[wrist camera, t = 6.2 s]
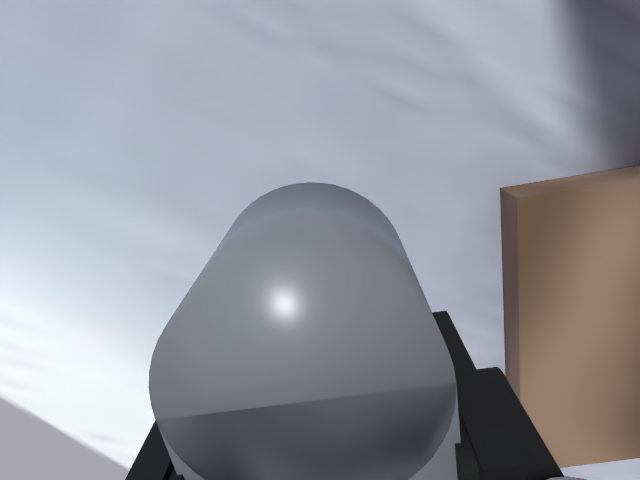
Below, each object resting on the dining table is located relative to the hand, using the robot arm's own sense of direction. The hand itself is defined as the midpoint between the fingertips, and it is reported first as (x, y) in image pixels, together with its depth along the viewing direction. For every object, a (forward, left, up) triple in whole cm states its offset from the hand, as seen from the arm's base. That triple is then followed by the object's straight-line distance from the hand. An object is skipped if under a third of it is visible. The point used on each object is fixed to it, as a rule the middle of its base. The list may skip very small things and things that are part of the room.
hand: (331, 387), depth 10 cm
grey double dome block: (0, 0, -1) cm, 1 cm away
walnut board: (-14, +5, -8) cm, 17 cm away
